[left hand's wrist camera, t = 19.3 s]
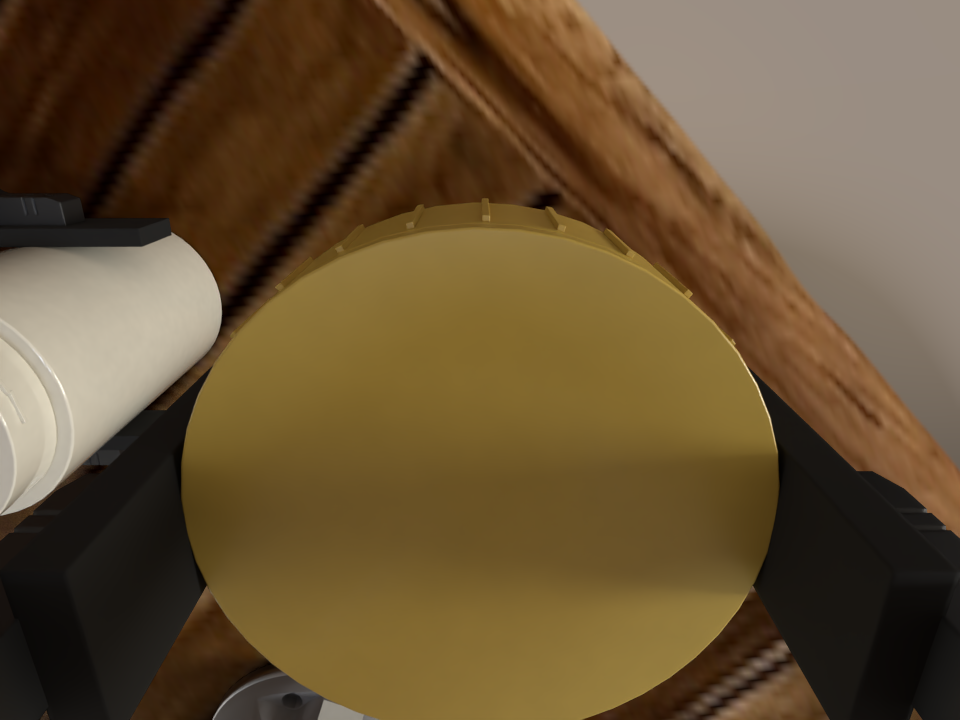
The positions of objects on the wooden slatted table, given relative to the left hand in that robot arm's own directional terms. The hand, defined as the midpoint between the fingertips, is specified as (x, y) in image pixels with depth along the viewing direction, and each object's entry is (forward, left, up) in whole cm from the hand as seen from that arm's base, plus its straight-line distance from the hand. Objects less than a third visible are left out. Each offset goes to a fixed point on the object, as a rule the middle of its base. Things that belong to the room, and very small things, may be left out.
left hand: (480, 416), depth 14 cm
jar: (-14, +12, -21) cm, 28 cm away
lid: (0, 0, +4) cm, 4 cm away
